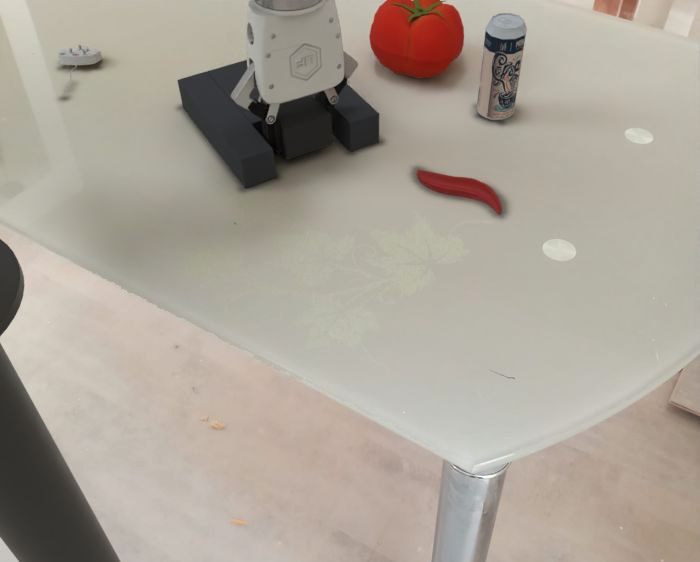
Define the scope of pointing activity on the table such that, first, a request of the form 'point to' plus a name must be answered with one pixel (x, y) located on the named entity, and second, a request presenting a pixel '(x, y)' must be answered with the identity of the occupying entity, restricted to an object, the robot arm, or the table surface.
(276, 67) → the robot arm
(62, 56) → the game controller
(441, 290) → the table surface
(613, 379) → the table surface
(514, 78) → the beer can
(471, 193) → the cayenne pepper
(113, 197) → the table surface
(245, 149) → the grey pad
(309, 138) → the black puzzle block
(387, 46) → the tomato
